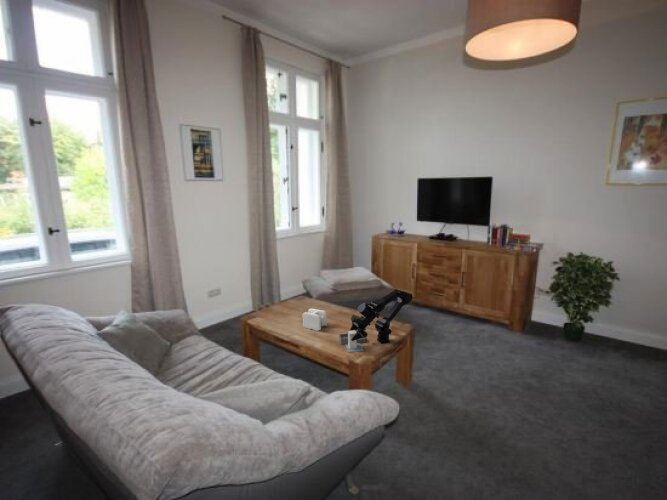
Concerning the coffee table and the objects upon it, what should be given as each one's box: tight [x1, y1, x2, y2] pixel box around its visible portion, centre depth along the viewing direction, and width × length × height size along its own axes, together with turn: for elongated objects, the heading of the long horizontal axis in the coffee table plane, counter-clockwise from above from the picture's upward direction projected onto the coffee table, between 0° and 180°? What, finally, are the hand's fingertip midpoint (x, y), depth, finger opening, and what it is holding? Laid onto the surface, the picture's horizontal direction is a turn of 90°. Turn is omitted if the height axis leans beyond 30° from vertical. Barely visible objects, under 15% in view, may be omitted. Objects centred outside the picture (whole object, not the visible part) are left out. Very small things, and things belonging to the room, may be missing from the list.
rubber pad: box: [344, 343, 365, 353], centre depth 219 cm, size 10×10×1 cm
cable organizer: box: [302, 308, 328, 332], centre depth 248 cm, size 15×11×12 cm
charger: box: [347, 330, 357, 349], centre depth 218 cm, size 4×4×10 cm
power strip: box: [338, 333, 367, 346], centre depth 227 cm, size 16×7×4 cm, turn 100°
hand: (350, 337), depth 217 cm, fingers open, 9 cm apart
